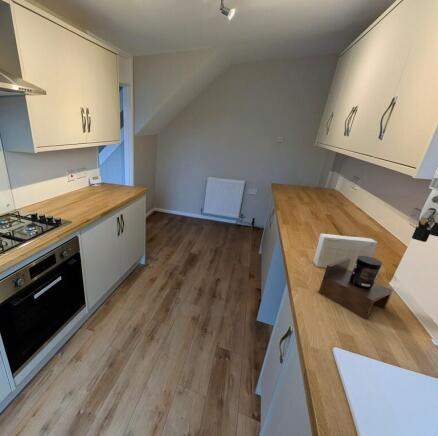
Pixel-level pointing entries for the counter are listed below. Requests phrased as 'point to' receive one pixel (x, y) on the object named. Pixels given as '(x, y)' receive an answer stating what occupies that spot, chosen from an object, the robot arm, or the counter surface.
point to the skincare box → (342, 249)
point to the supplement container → (365, 272)
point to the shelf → (352, 290)
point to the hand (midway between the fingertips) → (425, 237)
